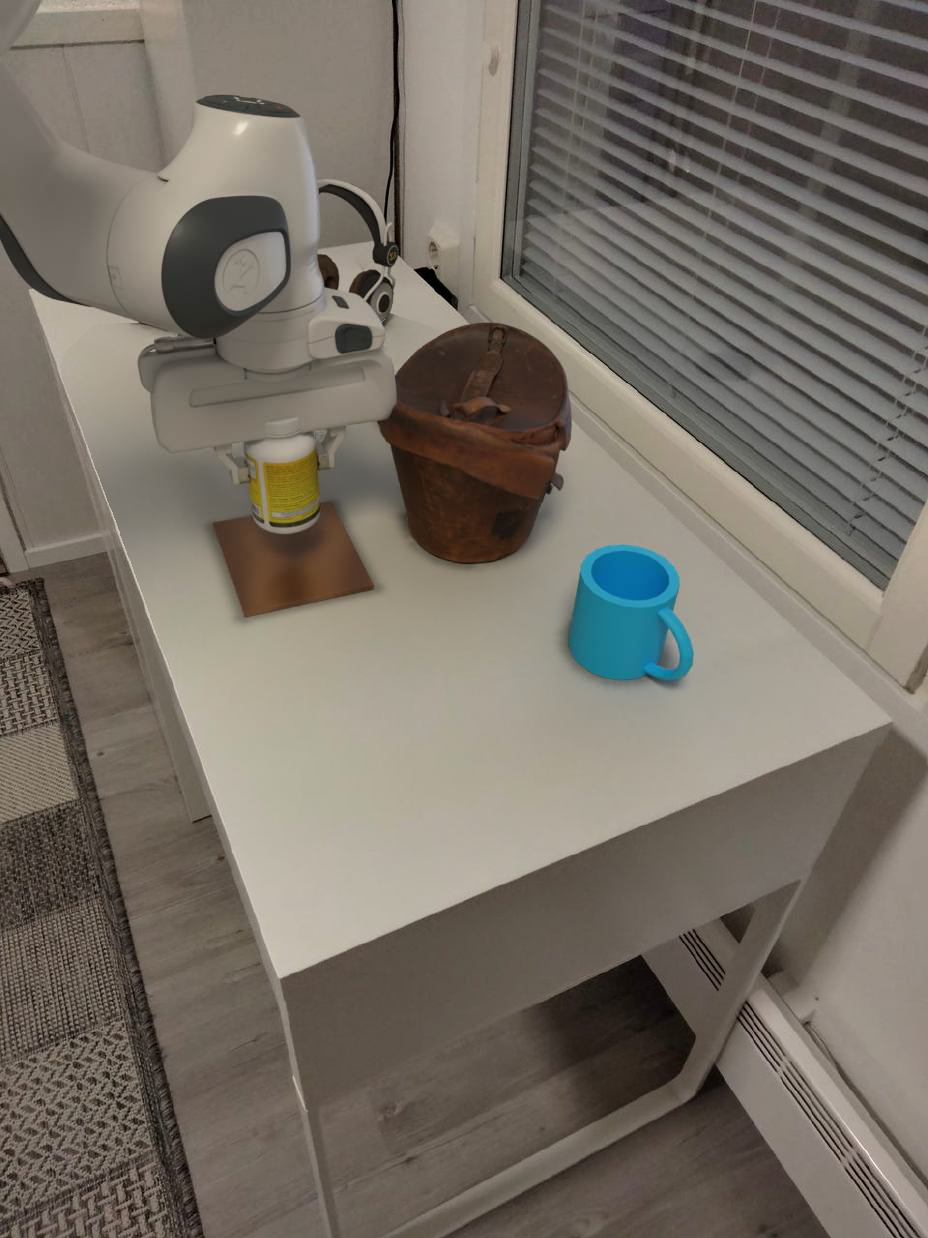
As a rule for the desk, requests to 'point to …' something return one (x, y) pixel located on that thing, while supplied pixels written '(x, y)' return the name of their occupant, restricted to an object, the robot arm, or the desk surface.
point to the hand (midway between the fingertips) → (283, 473)
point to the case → (478, 439)
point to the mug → (627, 614)
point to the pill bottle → (284, 478)
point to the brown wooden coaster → (290, 563)
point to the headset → (384, 252)
